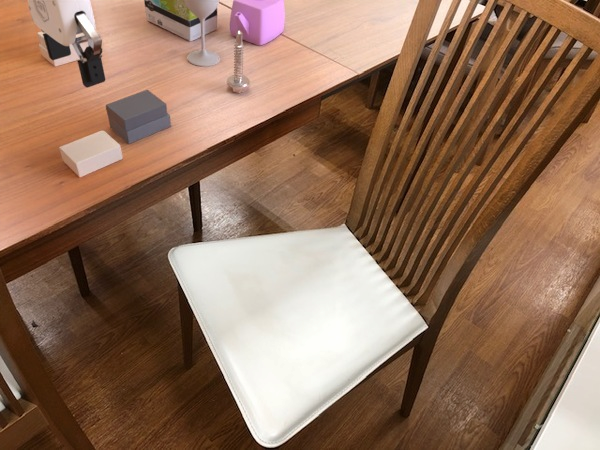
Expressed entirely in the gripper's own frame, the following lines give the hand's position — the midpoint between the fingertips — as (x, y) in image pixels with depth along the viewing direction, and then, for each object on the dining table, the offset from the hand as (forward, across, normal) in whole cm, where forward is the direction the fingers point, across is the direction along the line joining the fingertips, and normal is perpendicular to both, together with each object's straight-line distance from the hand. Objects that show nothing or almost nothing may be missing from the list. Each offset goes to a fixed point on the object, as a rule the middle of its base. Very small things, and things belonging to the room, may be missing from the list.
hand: (77, 70), depth 75 cm
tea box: (+17, -33, +42) cm, 56 cm away
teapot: (+17, -20, +54) cm, 60 cm away
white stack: (+16, -35, +13) cm, 41 cm away
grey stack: (+17, -4, +11) cm, 20 cm away
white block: (+17, 0, -1) cm, 17 cm away
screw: (+17, -3, +34) cm, 38 cm away
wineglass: (+17, -17, +36) cm, 43 cm away
